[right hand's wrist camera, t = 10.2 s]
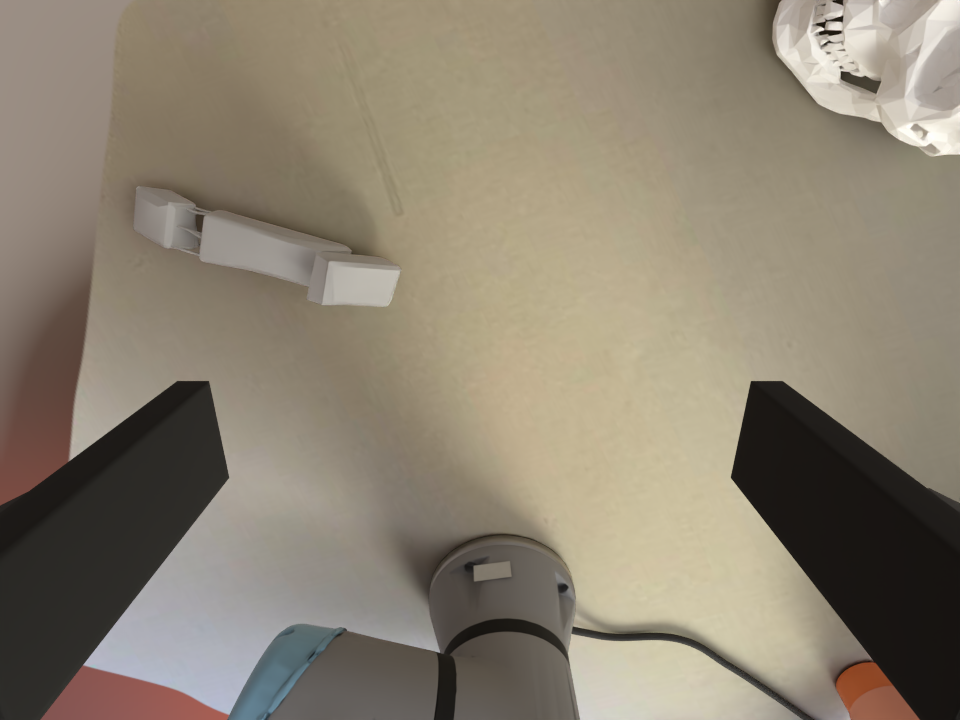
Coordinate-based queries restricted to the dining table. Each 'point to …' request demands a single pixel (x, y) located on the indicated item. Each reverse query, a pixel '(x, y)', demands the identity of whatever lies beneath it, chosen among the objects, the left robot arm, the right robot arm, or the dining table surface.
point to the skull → (880, 63)
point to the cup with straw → (871, 695)
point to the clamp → (266, 250)
